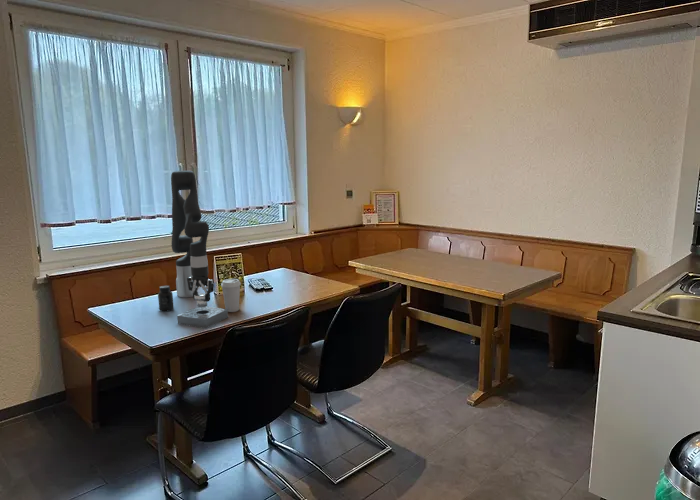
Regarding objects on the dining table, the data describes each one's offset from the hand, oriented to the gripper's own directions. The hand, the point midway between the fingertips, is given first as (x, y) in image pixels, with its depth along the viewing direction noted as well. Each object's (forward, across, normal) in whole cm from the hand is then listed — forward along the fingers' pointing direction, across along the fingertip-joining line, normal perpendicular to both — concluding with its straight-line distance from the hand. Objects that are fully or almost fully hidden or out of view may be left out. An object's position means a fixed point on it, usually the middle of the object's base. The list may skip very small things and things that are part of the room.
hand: (201, 300), depth 229 cm
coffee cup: (+10, +3, +18) cm, 21 cm away
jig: (+10, 0, 0) cm, 10 cm away
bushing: (+3, 0, 0) cm, 3 cm away
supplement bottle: (+10, -28, +6) cm, 30 cm away
